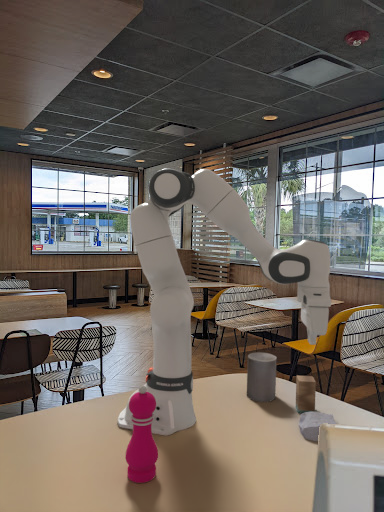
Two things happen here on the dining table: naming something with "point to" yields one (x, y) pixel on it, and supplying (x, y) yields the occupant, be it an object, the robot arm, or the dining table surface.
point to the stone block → (313, 423)
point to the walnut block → (305, 394)
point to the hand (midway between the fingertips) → (311, 343)
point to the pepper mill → (142, 438)
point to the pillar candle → (261, 377)
